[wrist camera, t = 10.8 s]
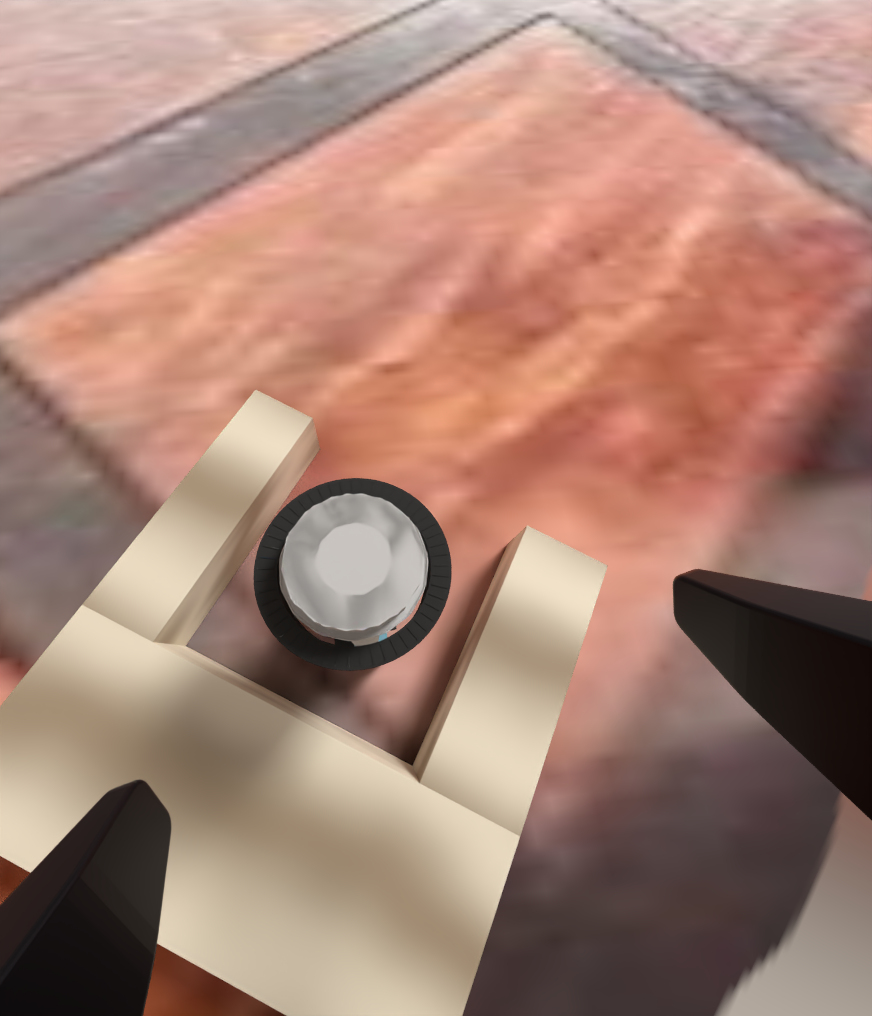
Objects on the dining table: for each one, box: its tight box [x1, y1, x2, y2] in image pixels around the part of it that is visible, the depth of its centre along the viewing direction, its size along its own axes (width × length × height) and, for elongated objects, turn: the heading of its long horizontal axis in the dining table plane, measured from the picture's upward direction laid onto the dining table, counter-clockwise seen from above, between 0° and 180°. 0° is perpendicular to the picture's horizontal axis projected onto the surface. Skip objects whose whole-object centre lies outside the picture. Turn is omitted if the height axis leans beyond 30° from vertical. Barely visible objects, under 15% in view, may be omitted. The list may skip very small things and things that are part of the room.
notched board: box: [0, 390, 607, 1016], centre depth 18 cm, size 18×18×3 cm
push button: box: [254, 478, 451, 671], centre depth 16 cm, size 7×5×10 cm
